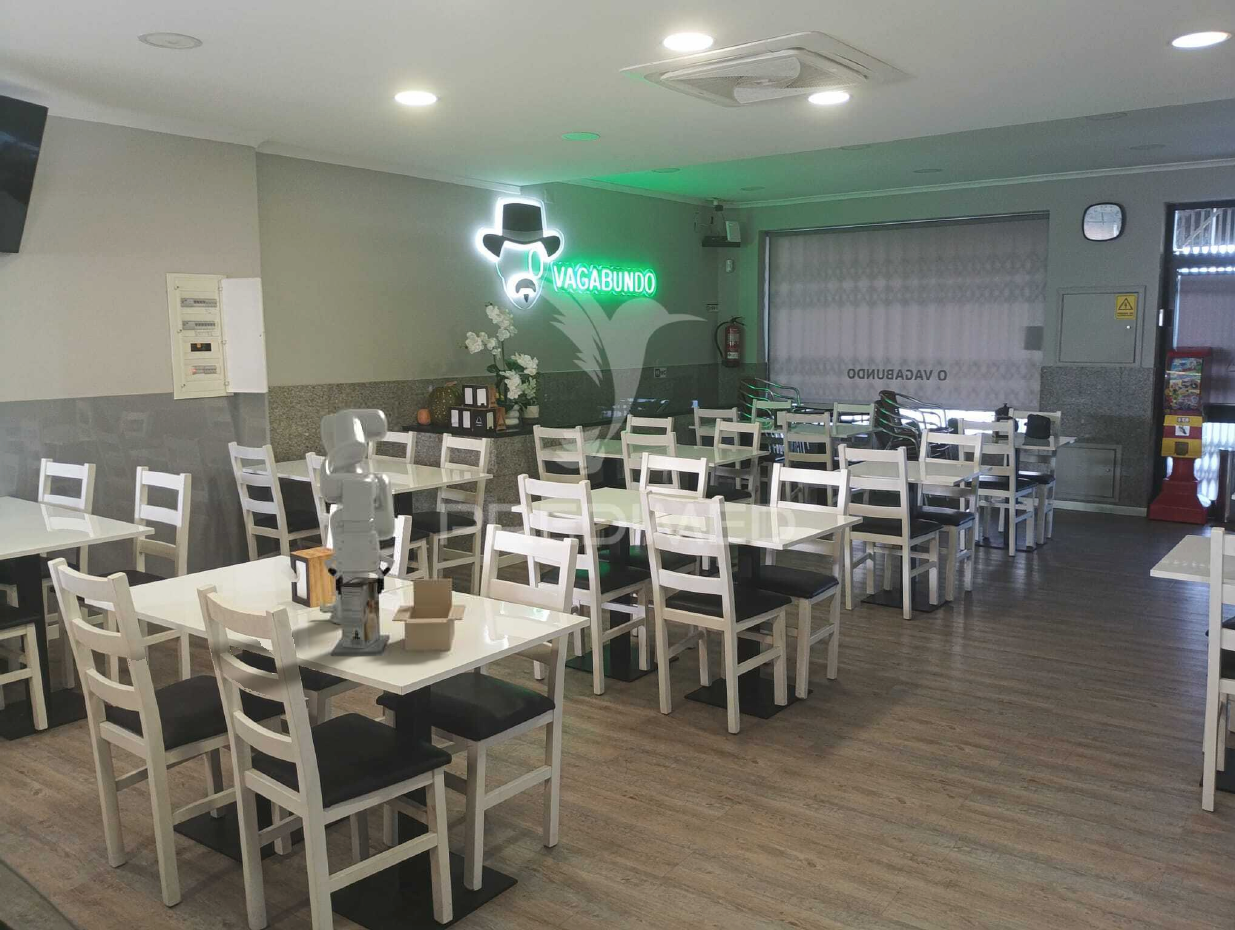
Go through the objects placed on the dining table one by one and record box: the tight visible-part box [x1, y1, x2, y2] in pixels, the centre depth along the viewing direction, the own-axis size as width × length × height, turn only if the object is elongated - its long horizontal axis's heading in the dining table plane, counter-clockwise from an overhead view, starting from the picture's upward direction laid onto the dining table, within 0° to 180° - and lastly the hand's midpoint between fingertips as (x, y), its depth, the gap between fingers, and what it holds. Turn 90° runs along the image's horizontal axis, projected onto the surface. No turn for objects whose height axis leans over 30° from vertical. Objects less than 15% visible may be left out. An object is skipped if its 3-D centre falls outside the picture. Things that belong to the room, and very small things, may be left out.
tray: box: [331, 634, 391, 657], centre depth 239 cm, size 12×14×1 cm
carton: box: [392, 578, 467, 652], centre depth 241 cm, size 17×17×15 cm
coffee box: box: [340, 577, 381, 648], centre depth 238 cm, size 9×6×16 cm
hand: (360, 593), depth 238 cm, fingers open, 9 cm apart
